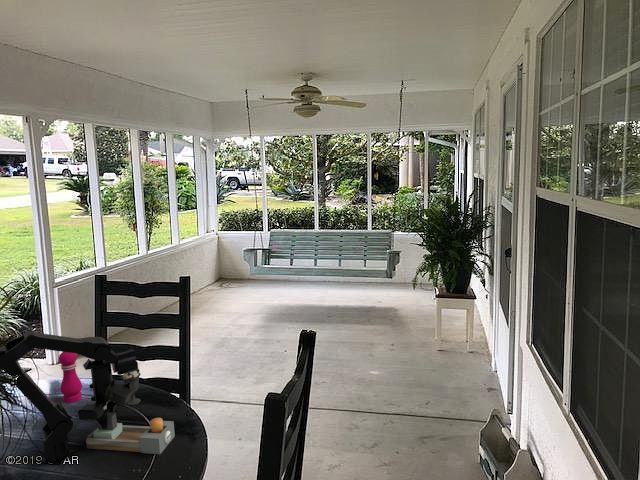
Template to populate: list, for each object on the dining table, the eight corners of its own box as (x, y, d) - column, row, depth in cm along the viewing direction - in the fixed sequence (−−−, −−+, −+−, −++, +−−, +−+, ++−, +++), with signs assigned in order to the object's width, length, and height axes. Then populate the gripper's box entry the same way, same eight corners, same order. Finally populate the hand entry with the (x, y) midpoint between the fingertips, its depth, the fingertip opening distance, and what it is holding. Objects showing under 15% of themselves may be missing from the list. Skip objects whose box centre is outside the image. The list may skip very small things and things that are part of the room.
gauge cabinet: (161, 454, 155) (160, 438, 154) (141, 453, 156) (139, 437, 155) (176, 436, 164) (175, 421, 163) (156, 435, 165) (155, 420, 165)
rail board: (142, 452, 156) (141, 441, 156) (87, 448, 159) (85, 437, 159) (156, 435, 165) (155, 425, 164) (103, 432, 168) (102, 422, 167)
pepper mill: (57, 402, 190) (50, 350, 186) (71, 393, 196) (65, 342, 193) (73, 404, 187) (67, 351, 184) (87, 395, 194) (81, 344, 191)
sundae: (122, 407, 184) (118, 367, 181) (124, 399, 190) (120, 360, 188) (142, 404, 186) (138, 364, 183) (143, 396, 192) (139, 357, 189)
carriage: (112, 441, 159) (109, 419, 158) (94, 440, 160) (91, 418, 159) (122, 431, 165) (120, 409, 164) (105, 430, 166) (102, 409, 165)
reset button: (160, 436, 157) (159, 424, 157) (149, 435, 158) (147, 423, 157) (165, 430, 161) (164, 418, 160) (154, 429, 161) (153, 417, 161)
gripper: (109, 394, 149) (115, 444, 151) (141, 367, 167) (146, 412, 170) (74, 392, 151) (80, 442, 153) (109, 366, 169) (114, 411, 171)
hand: (107, 426), depth 162 cm, fingers closed on carriage, 2 cm apart
